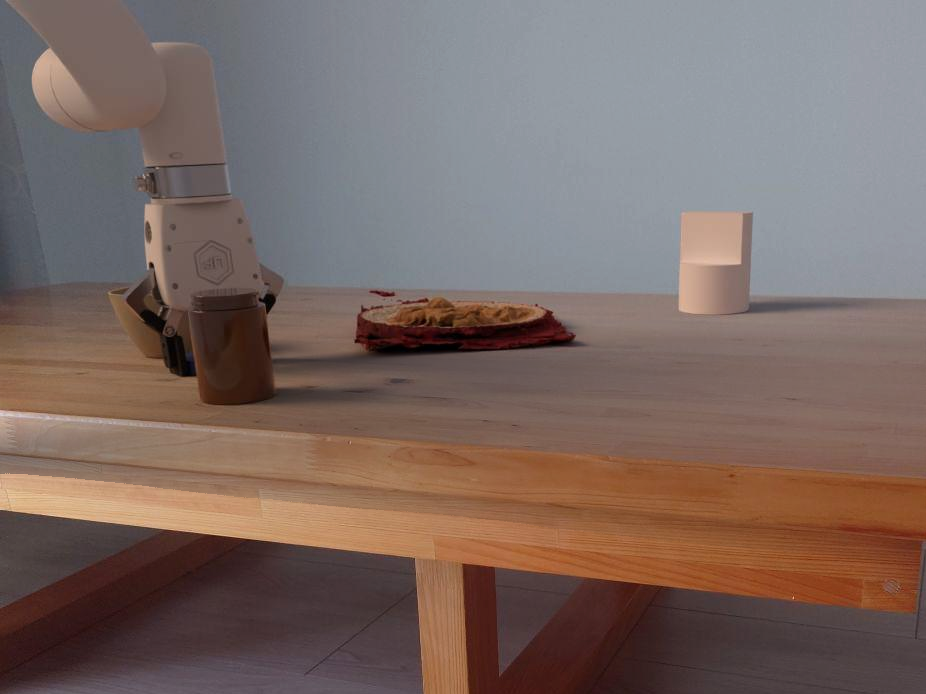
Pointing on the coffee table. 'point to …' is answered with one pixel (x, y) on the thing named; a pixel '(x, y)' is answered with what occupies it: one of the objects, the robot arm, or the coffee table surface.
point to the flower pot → (141, 332)
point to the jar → (231, 346)
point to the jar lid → (190, 363)
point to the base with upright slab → (715, 262)
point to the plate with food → (457, 324)
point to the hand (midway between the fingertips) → (218, 366)
